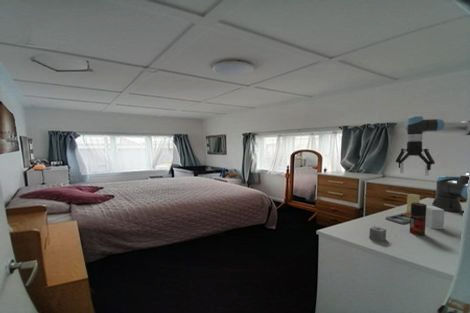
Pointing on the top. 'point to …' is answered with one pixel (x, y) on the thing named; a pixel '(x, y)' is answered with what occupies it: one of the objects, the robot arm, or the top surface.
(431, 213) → the small box
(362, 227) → the top surface
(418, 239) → the top surface
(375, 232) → the dice cube
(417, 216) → the deodorant
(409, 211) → the tan wooden beam
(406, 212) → the grey flat frame
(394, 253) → the top surface
